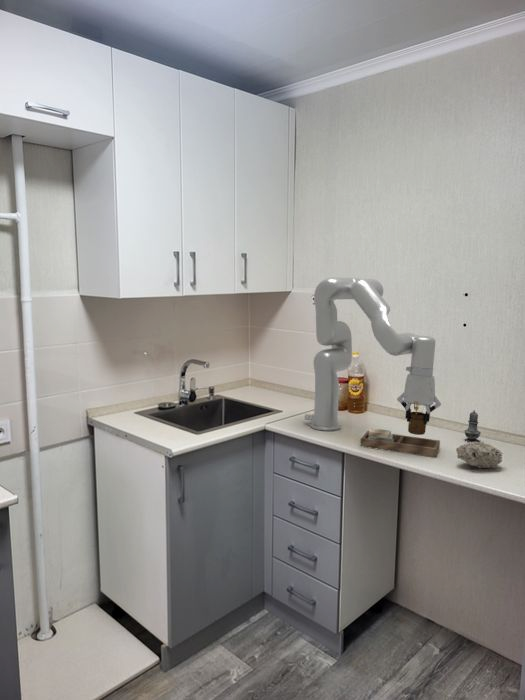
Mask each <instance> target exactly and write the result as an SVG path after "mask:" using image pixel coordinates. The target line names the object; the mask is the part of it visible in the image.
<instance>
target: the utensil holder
mask: <svg viewBox="0 0 525 700" xmlns="http://www.w3.org/2000/svg"><path fill="white" fill-rule="evenodd" d="M424 408H425V406H421V407H420V406H419V405H418V402H416V404H415V401H414V404H413V410H415V411H411V414H410V416H411V417H410V419H409V422H408V426H407V427H408V428H407V431H408V433H409V434H411V435H415V436H416V435H418V436H422V435H425V434H426V429H427V428H426V427H427V424H424V420H425V413H426V412H425V413H424V412H423V409H424ZM419 409H420V411H419Z"/></svg>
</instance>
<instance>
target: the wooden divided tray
mask: <svg viewBox="0 0 525 700" xmlns="http://www.w3.org/2000/svg"><path fill="white" fill-rule="evenodd" d="M369 431H370V430H367V431H366V432H365V433H364V434H363V436H362V437H361V438H360V447H361V446H364V447H363V448H368V447H371V448H370V449H375V448H377V450H381V449H383V450H382V451H388V450H390V451H389V452H395V451H396V452H397V453H401V454H409V455H410V454H411V455H417V456H423V457H429V458H437V456H438V453H439V451H440V446H441V439H439V440H438V439H433V438H424V437H417V436H410V435H402V434H396V433H392V434H393V439H394V442H389V441H382V440H375V439H368V437H369Z"/></svg>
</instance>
